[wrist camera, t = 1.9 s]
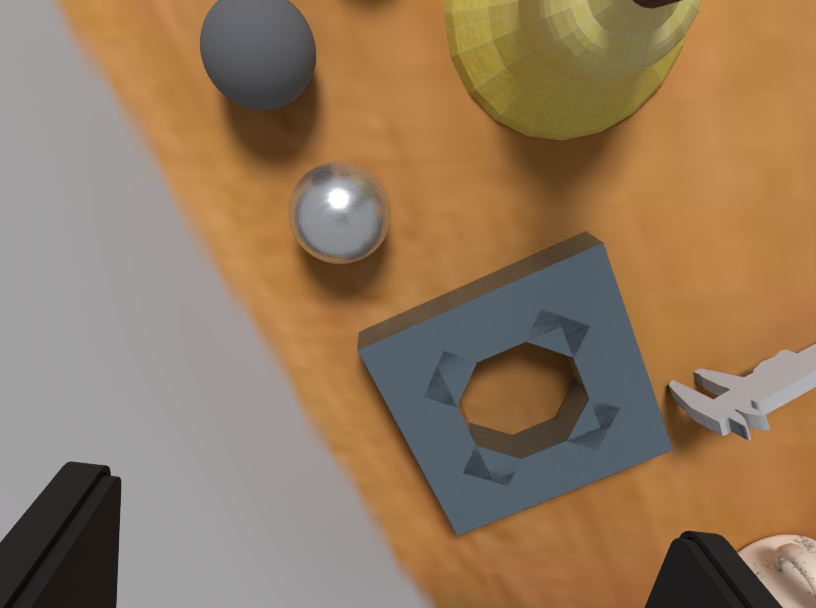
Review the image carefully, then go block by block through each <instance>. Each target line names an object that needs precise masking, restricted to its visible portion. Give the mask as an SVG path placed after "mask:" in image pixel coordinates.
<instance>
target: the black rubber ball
mask: <svg viewBox="0 0 816 608" xmlns="http://www.w3.org/2000/svg"><path fill="white" fill-rule="evenodd" d="M200 51H201V57H202V61H203V64H204V67H205V70H206V72H207V74H208V76H209V78H210V79H211V81H212V82H213V84H214V85H215V86H216V87H217V88H218V90H219V91H220V92H221V93H222V94H223V95H224V96H226V97H227V98H228V99H230V100H231V101H233V102H234V103H236V104H238V105H240V106H243V107H245V108H249V109H253V110H260V111H268V110H275V109H278V108H282V107H284V106H286V105H288V104H290V103H292V102H293V101H295V100H296V99H297V98H298V97H299V96H300V95H301V94H302V93H303V92H304V91H305V89H306V88H307V86H308V85H309V83H310V81H311V79H312V76H313V73H314V69H315V64H316V47H315V41H314V38H313V34H312V32H311V29H310V27H309V25H308V23H307V21H306V19H305V18H304V16H303V15H302V14H301V12H300V11H299V10H298V9H297V8H296V7H295V6H294V5H293V4H292V3H291V2H290V1H288V0H218V1H217V2H216V3H215V4H214V5H213V7H212V8H211V9H210V11H209V12H208V14H207V16H206V18H205V20H204V22H203V26H202V29H201V35H200Z"/></svg>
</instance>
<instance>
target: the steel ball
mask: <svg viewBox="0 0 816 608" xmlns="http://www.w3.org/2000/svg"><path fill="white" fill-rule="evenodd" d="M288 213H289V221H290V226H291V229H292V232H293V234H294V236H295V238H296V240H297V241H298V243H299V244H300V245H301V246H302V247H303V249H305V250H306V251H307V252H308V253H309V254H311V255H312V256H313V257H315V258H317V259H319V260H322V261H324V262H328V263H332V264H349V263H353V262H357V261H359V260H362V259H364V258H366V257H367V256H369V255H370V254H371V253H373V252H374V251H375V250H376V249H377V248H378V247H379V246H380V244H381V243H382V242H383V240H384V238H385V237H386V234H387V232H388V229H389V225H390V219H391V208H390V202H389V198H388V195H387V193H386V191H385V189H384V187H383V186H382V184H381V183H380V181H379V180H378V179H377V178H376V177H375V176H374V175H373V174H372V173H371V172H369V171H368V170H367V169H365V168H363V167H361V166H359V165H357V164H354V163H350V162H343V161H334V162H328V163H324V164H321V165H319V166H317V167H315V168H313V169H311V170H310V171H308V172H307V173H306V174H305V175H304V176H303V177H302V178H301V179H300V180H299V181H298V183H297V184H296V186H295V188H294V190H293V192H292V195H291V198H290V202H289V210H288Z"/></svg>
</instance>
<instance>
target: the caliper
mask: <svg viewBox="0 0 816 608" xmlns="http://www.w3.org/2000/svg"><path fill="white" fill-rule="evenodd" d="M693 372H694V376H695V379H696V383H697V385H699V386H702V387H703V388H704V389H705V390H707V391H709V392H711V393H713V394H715V395H717V396H718V397H717V398H715V399H714V400H713V399H711V398H709V397H707V396H705V395H703V394H701V393H699V392H697V391H695V390H693V389H691V388H689V387H687V386H685V385H683V384H681V383H679V382H677V381H675V380H672V381H671V382H670V383H669V388H670V391H671V395H672V398H673V399H674V400H675V401H676V402H677V403H678V405H679V406H680V407H681V408H682V409H683V410H684V411H685V412H686V413H687V414H688V415H689V416H690V417H691V418H692V419H693V420H694V421H696V422H697V423H699V424H701V425H703V426H705V427H707V428H709V429H710V430H712V431H714V432H716V433H718V434H720V435H722V436H725V435H727V434H729V433H731V432H734V433H736V434H738V435H739V436H741V437H743V438H745V439H746V440H748V441H750V440H751V438H750V434H749V430H748V427H749V428H754V429H760V430H769V425H768V421H767V416H766V414H768V413H770V412H772V411H773V410H775V409H777V408H779V407H781V406H782V405H784V404H786V403H788V402H789V401H791V400H793V399H795V398H797V397H798V396H800V395H802V394H804V393H805V392H807V391H809V390H811V389H813V388H814V387H816V344H814V345H812V346H810V347H808V348H806V349H805V350H803V351H801V352H799V353H795V352H792V351H789V350H783V351H781V352H779V353H778V354H777V355H776V356H775V357H773V358H771V359H768V360H765V361H762V362H761V363H760V364H759V365H758V366H757V367H756V368H755V369H754V370H753V373H751V374H749V375H747V376H746V377H739V376H735V375H730V374H726V373H721V372H716V371H712V370H707V369H702V368H701V369H699V370H696V371H693Z"/></svg>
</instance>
